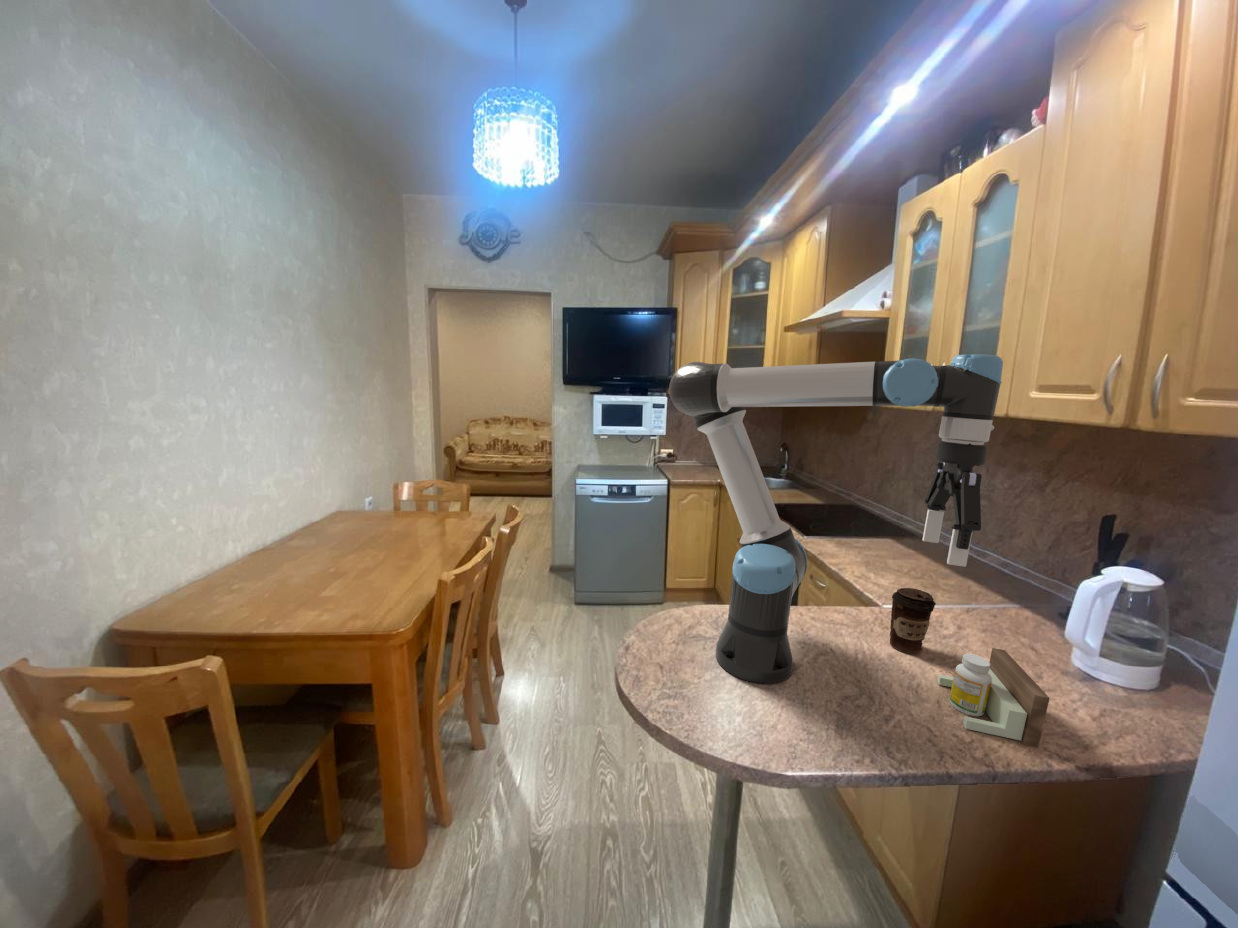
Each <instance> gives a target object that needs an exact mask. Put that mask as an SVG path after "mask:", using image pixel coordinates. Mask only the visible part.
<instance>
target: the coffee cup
mask: <svg viewBox="0 0 1238 928" xmlns="http://www.w3.org/2000/svg"><path fill="white" fill-rule="evenodd" d="M891 599H892V602H891V603H892V605H891V614H890V615H891V617H890V627H889V628H890V631H889V644H890V646H891V647H892V648H894V649H896V650H897V651H900V652H902V653H907V654H910V655H911V654H912V655H919V654H921V653H922V652H923V641H924V640H925V636H926V634H927V632H928V630H929V627H930V623H931V622H930V620H931V615H932V612H934V609H935V606H936V605H937V603H936V602H935V601H934V597H933V595H932V594H930V593H929V592H927V591H924V590H921V589H918V588H911V587H901V588H898V589H897V590H896V591H895V592H894V593H893V594H892V595H891Z"/></svg>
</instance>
